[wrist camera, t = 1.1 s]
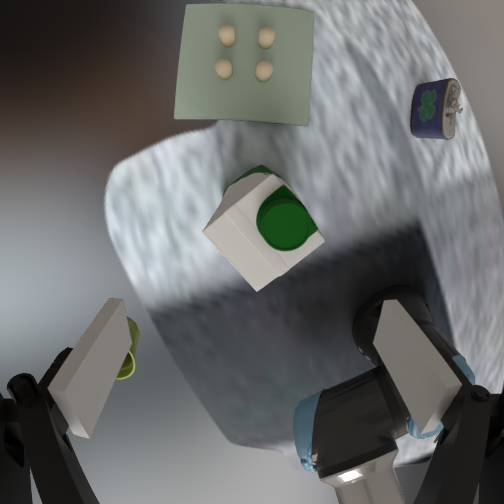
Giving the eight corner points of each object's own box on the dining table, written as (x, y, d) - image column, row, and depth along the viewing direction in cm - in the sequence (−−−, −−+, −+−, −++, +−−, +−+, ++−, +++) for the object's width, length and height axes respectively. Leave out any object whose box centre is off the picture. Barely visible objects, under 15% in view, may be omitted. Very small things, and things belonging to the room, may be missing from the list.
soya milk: (300, 203, 43) (341, 250, 25) (251, 241, 45) (255, 313, 26) (262, 155, 41) (275, 164, 22) (212, 196, 43) (185, 238, 24)
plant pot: (108, 297, 48) (87, 323, 40) (155, 322, 50) (142, 353, 42) (96, 333, 51) (78, 361, 43) (139, 356, 53) (126, 387, 44)
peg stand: (312, 15, 33) (320, 0, 28) (305, 126, 40) (314, 124, 34) (188, 8, 33) (180, -7, 27) (176, 119, 39) (166, 115, 34)
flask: (421, 140, 40) (462, 142, 30) (406, 134, 40) (445, 134, 30) (429, 87, 37) (469, 79, 27) (414, 80, 37) (453, 70, 27)
